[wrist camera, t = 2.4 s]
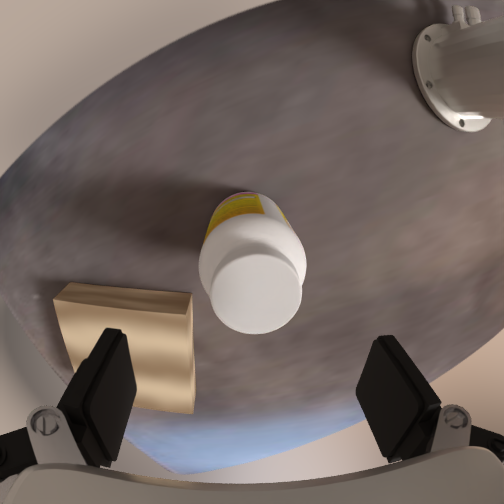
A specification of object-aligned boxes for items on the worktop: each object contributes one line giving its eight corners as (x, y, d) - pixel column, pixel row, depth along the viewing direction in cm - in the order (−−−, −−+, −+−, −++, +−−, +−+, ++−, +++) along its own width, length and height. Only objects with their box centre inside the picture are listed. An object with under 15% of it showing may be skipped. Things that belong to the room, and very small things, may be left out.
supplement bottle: (197, 238, 27) (167, 314, 15) (235, 176, 25) (232, 205, 13) (259, 273, 28) (273, 364, 16) (298, 216, 27) (346, 276, 15)
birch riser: (70, 282, 28) (52, 299, 24) (192, 293, 29) (186, 314, 25) (94, 375, 33) (84, 396, 29) (196, 390, 34) (192, 414, 30)
